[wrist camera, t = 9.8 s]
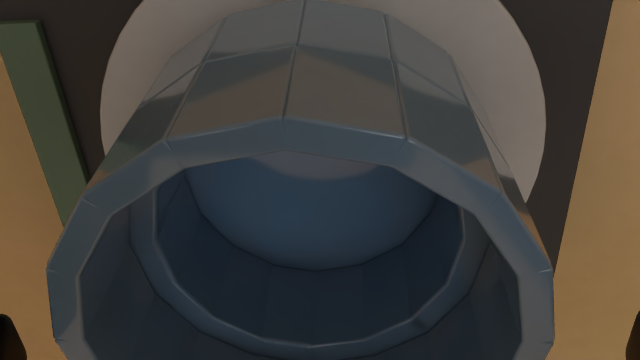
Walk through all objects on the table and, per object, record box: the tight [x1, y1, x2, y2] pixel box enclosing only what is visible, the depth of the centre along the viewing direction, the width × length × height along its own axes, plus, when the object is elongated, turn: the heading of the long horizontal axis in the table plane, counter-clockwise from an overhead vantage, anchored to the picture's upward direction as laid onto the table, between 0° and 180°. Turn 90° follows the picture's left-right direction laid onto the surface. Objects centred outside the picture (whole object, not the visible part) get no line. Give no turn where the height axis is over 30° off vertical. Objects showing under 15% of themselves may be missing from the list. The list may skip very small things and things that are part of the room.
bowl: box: [46, 0, 555, 360], centre depth 10 cm, size 7×7×5 cm
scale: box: [0, 0, 613, 278], centre depth 14 cm, size 12×10×3 cm
